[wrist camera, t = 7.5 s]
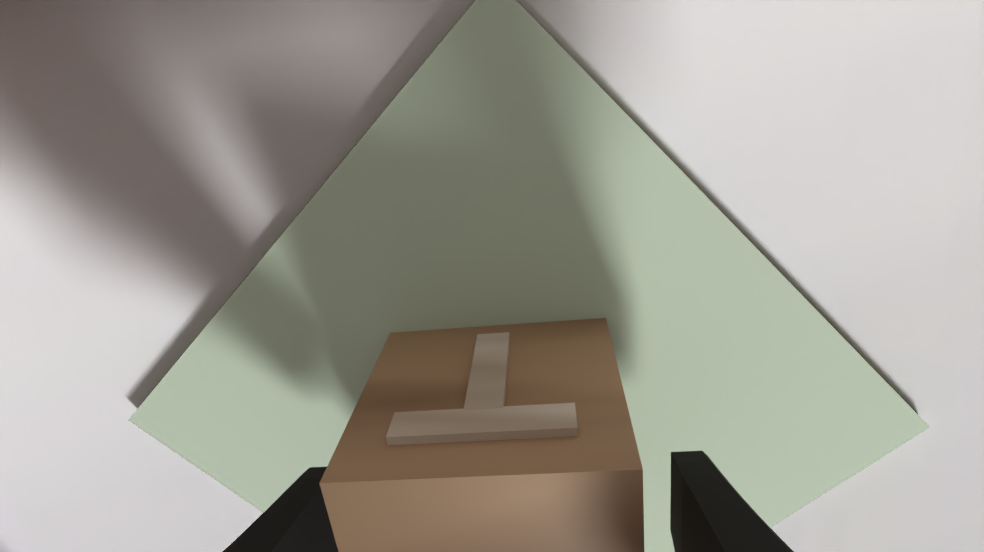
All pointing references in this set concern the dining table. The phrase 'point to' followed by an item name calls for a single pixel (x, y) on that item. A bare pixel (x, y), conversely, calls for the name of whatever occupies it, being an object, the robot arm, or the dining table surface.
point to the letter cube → (490, 445)
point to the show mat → (527, 290)
